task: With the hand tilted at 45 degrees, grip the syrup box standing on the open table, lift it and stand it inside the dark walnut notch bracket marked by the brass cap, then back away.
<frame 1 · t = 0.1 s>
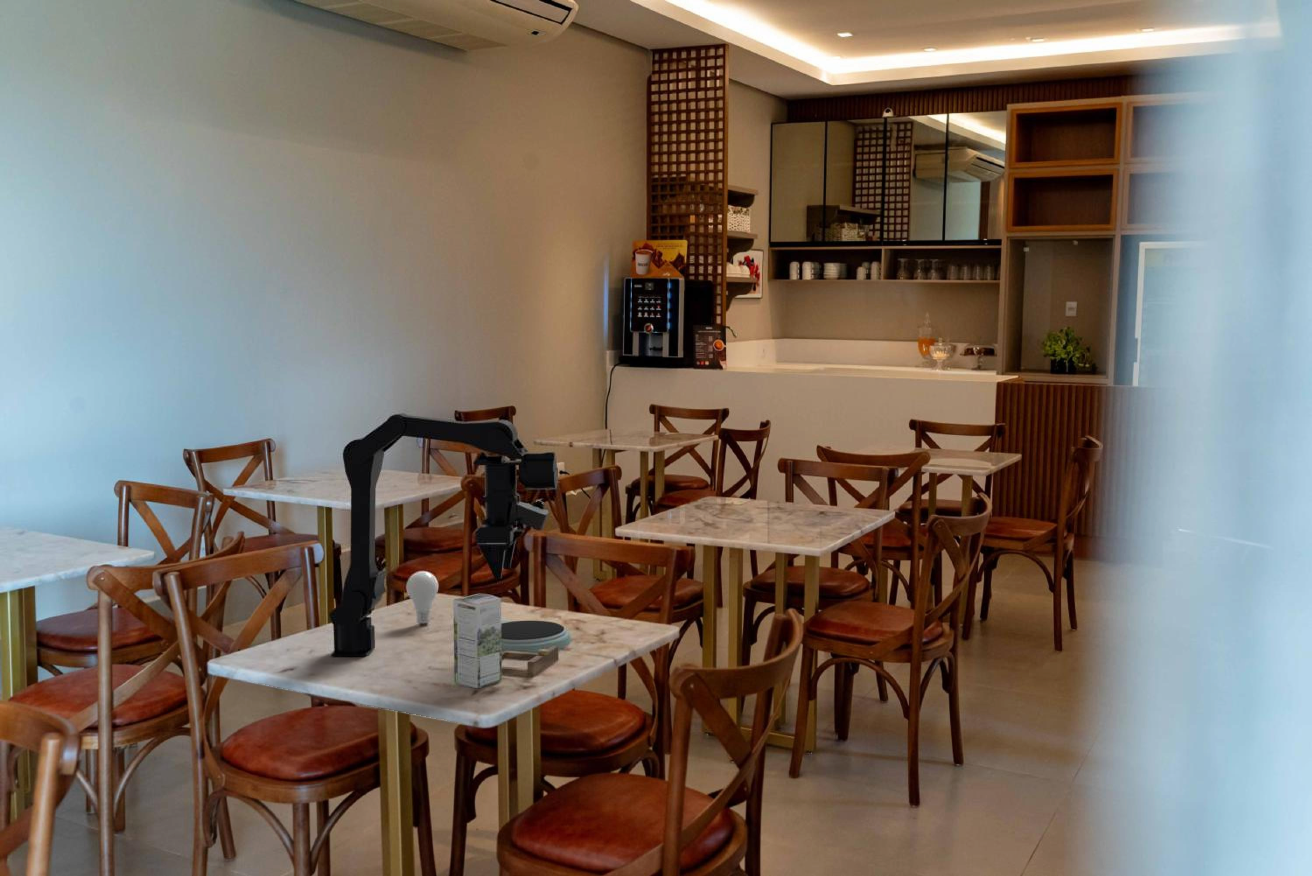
hand: (502, 574, 207), 15 cm above the table, tool pointing down, fingers open, 9 cm apart
scale: (511, 643, 217), on the table
square wooden frame: (517, 665, 199), on the table
syrup box: (478, 683, 190), on the table
lightbulb: (423, 625, 230), on the table
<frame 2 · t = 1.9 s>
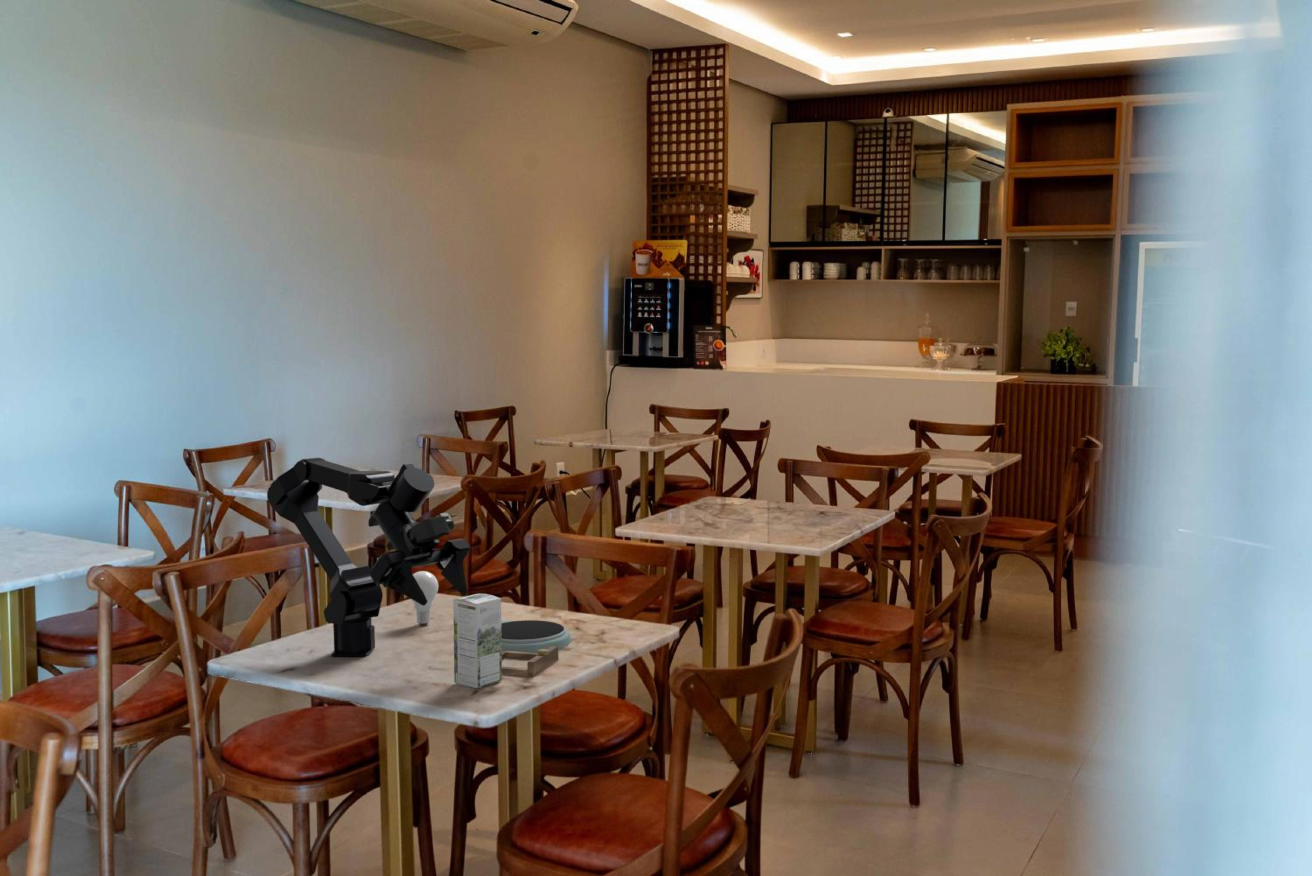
hand: (446, 599, 193), 13 cm above the table, tool tilted 45°, fingers open, 9 cm apart
nothing on the table moved.
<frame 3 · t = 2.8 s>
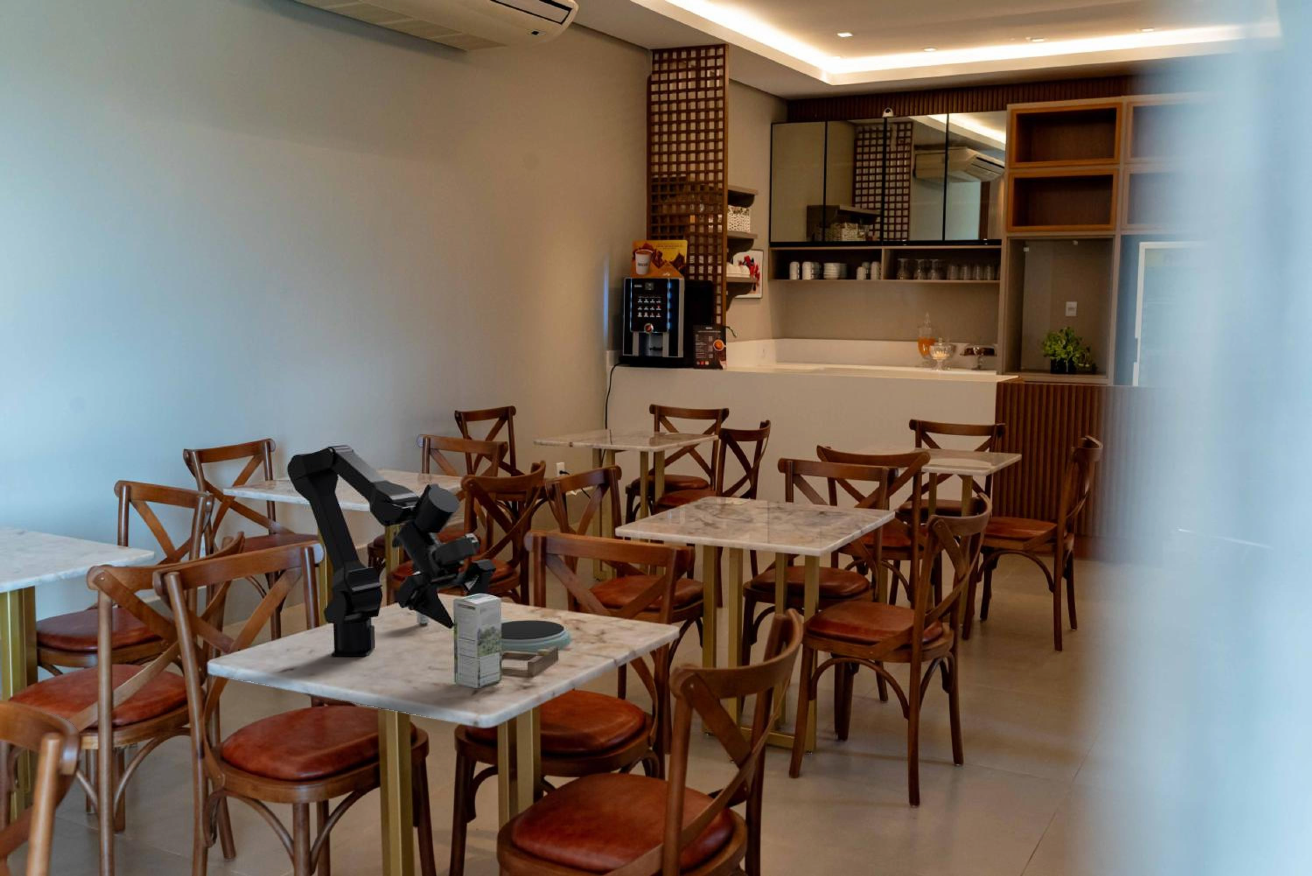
hand: (472, 621, 189), 10 cm above the table, tool tilted 45°, fingers open, 9 cm apart
nothing on the table moved.
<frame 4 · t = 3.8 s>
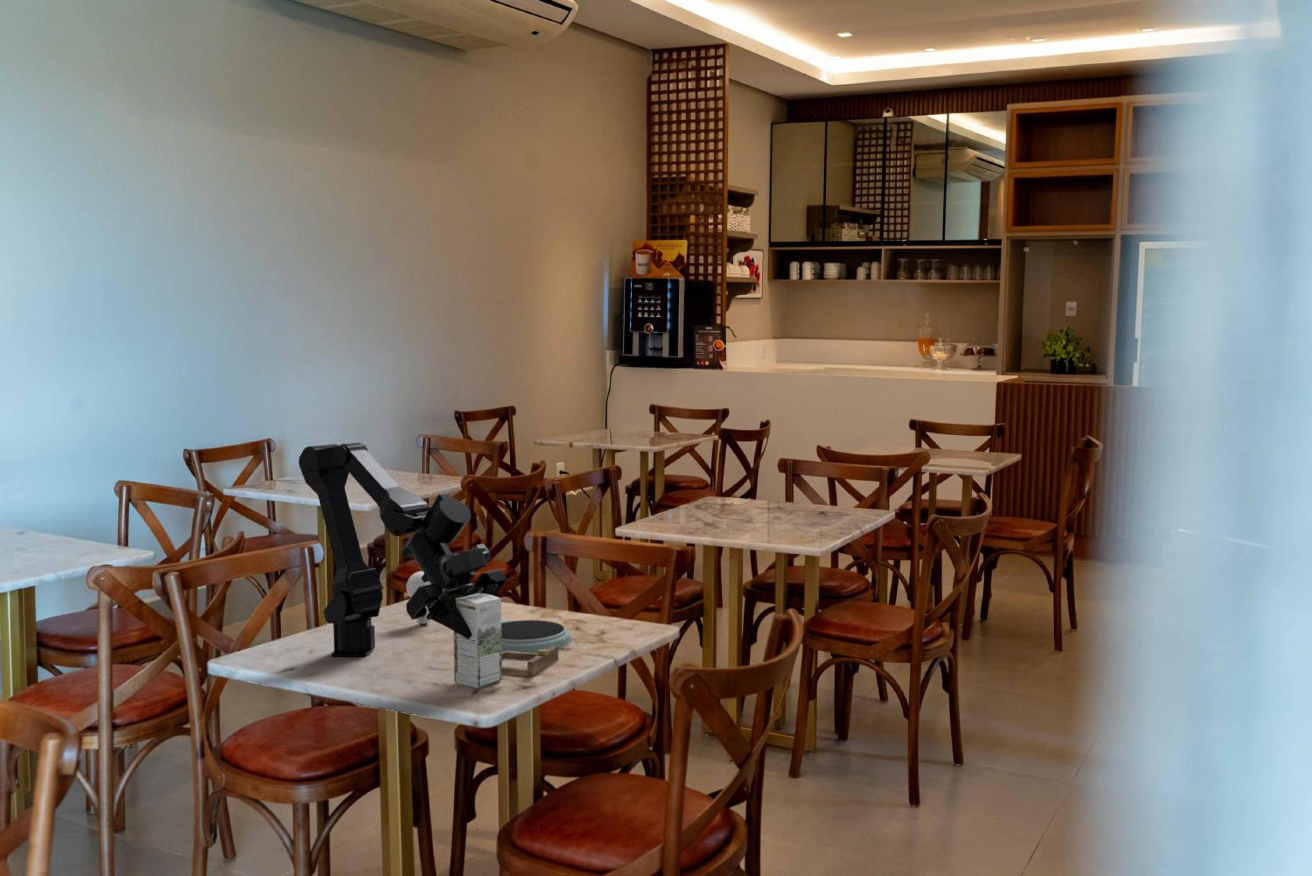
hand: (483, 633, 188), 9 cm above the table, tool tilted 45°, fingers closed on syrup box, 6 cm apart
syrup box: (478, 683, 190), on the table, touching gripper
everything else where it was.
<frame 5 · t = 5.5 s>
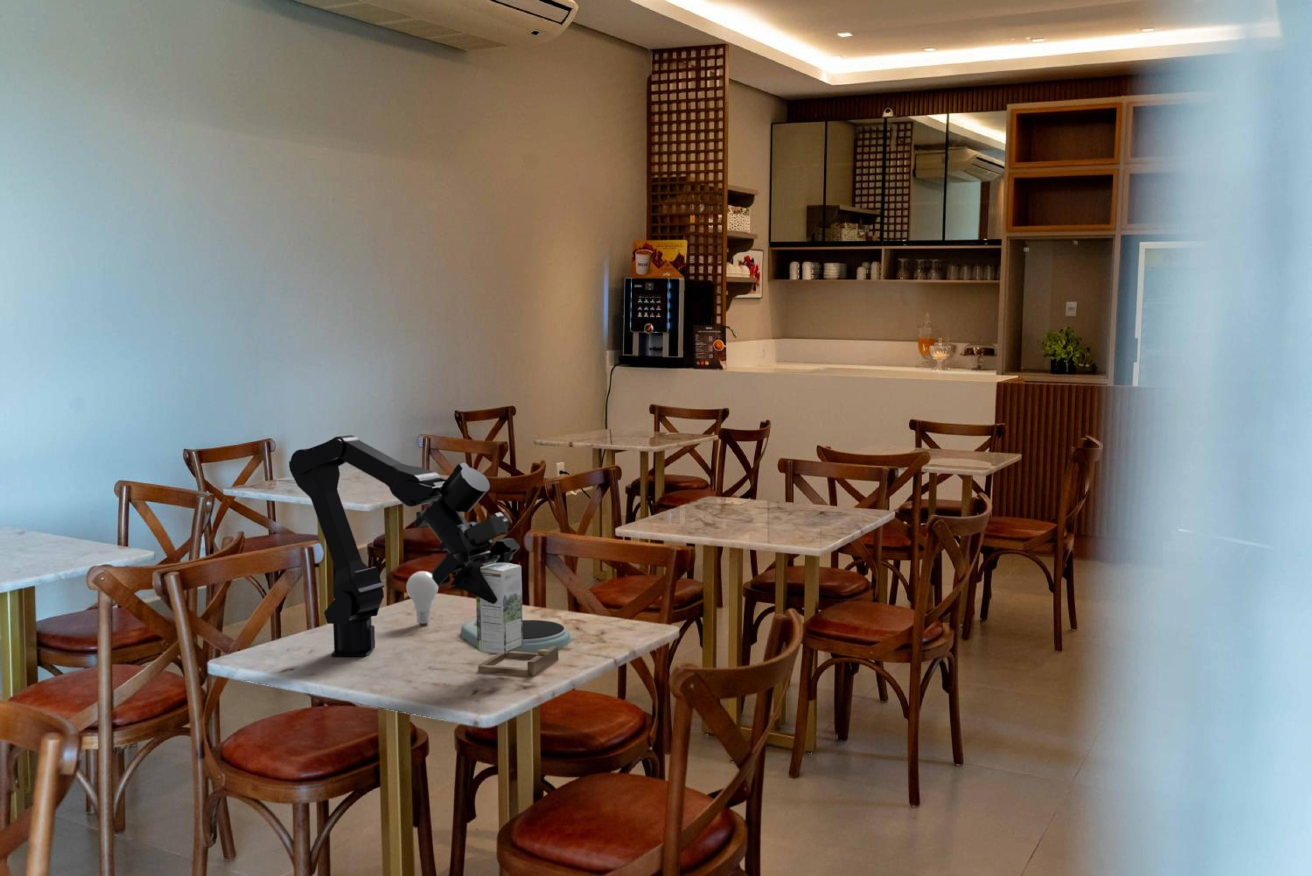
hand: (505, 598, 193), 13 cm above the table, tool tilted 45°, fingers closed on syrup box, 6 cm apart
syrup box: (501, 650, 194), point 4 cm above the table, touching gripper
everything else where it was.
when the fingers open (9 cm above the table, at t = 7.2 s): syrup box stays where it is, resting in square wooden frame.
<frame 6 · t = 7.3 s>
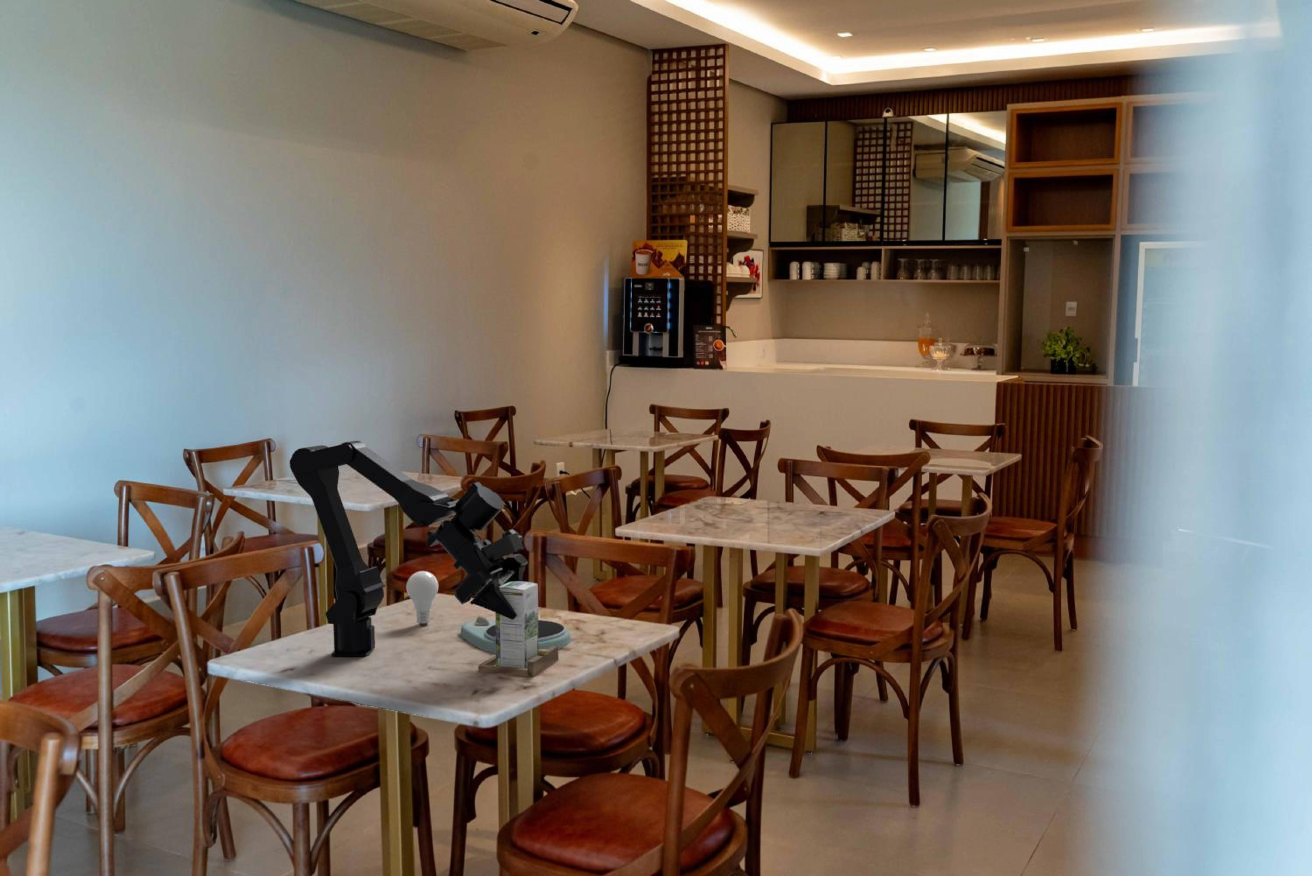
hand: (523, 613, 198), 10 cm above the table, tool tilted 45°, fingers open, 7 cm apart
syrup box: (518, 666, 199), resting in square wooden frame
everything else where it was.
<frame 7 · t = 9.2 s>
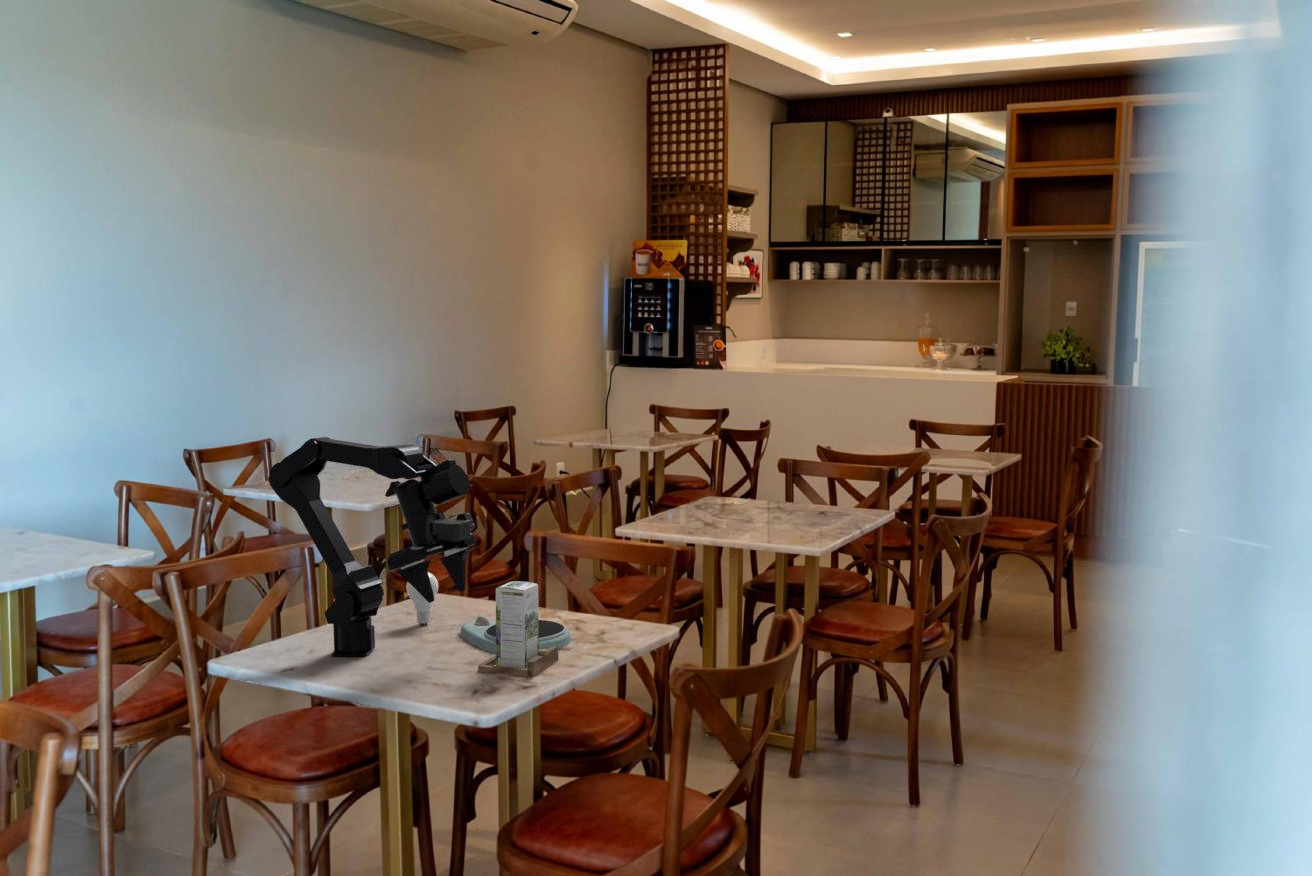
hand: (447, 596, 200), 12 cm above the table, tool tilted 20°, fingers open, 9 cm apart
nothing on the table moved.
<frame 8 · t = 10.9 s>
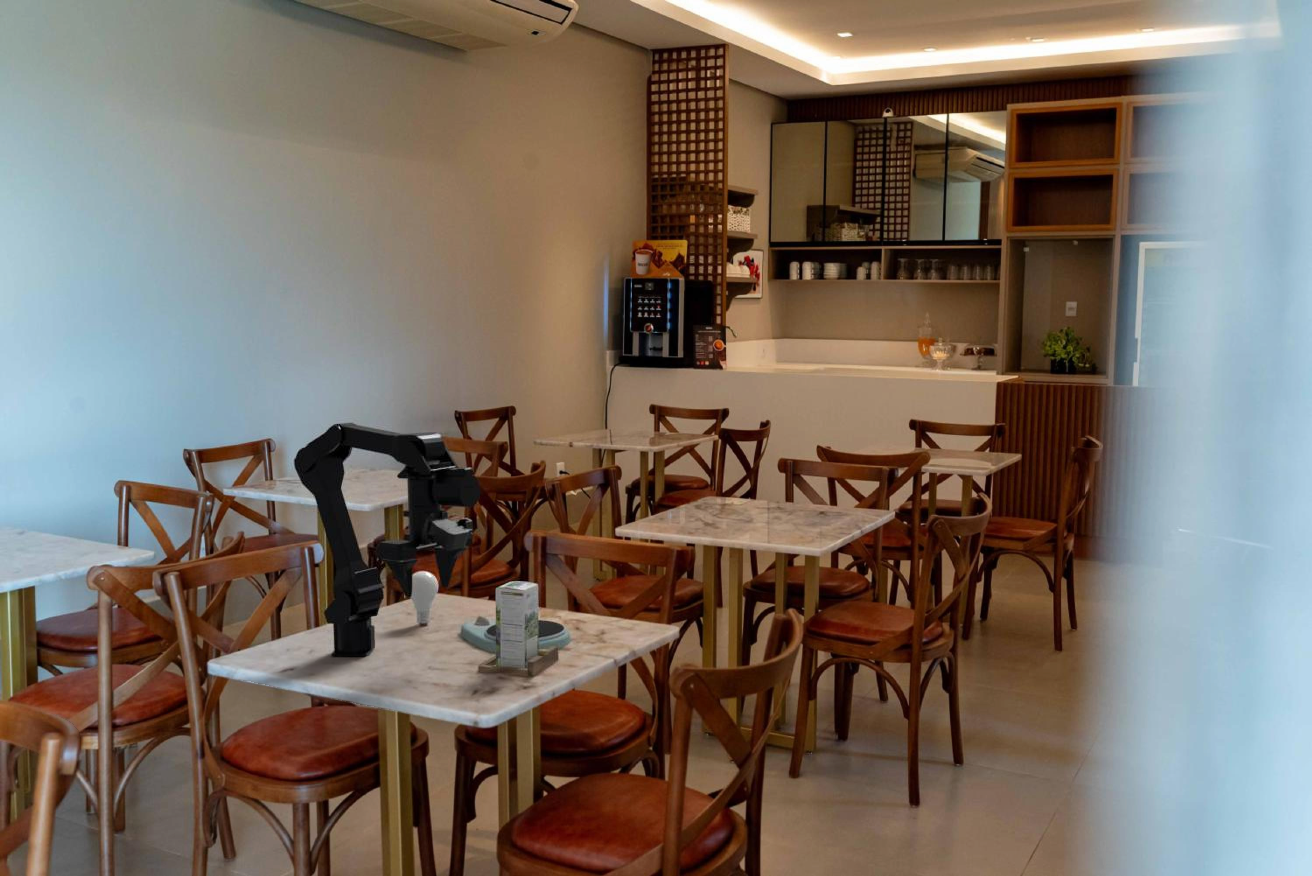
hand: (427, 592, 200), 13 cm above the table, tool pointing down, fingers open, 9 cm apart
nothing on the table moved.
at the end: syrup box 0.1 cm from the target spot, resting in square wooden frame; syrup box tilted 0°; the gripper is holding nothing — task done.
